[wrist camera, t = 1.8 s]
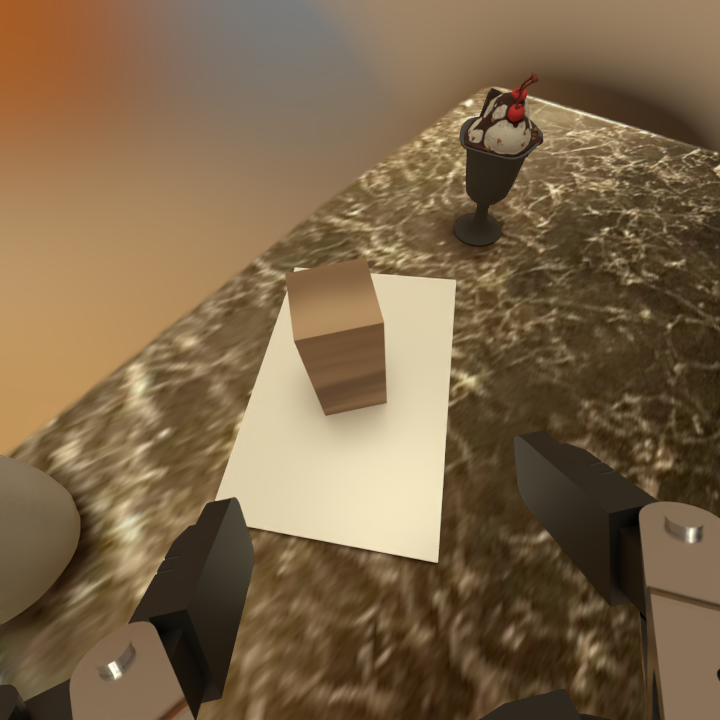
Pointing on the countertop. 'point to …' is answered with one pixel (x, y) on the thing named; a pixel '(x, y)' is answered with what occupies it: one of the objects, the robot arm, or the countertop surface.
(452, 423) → the countertop surface
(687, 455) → the countertop surface
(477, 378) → the countertop surface
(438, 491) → the cream sheet of paper
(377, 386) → the walnut block
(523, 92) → the sundae
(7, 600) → the glass bottle
